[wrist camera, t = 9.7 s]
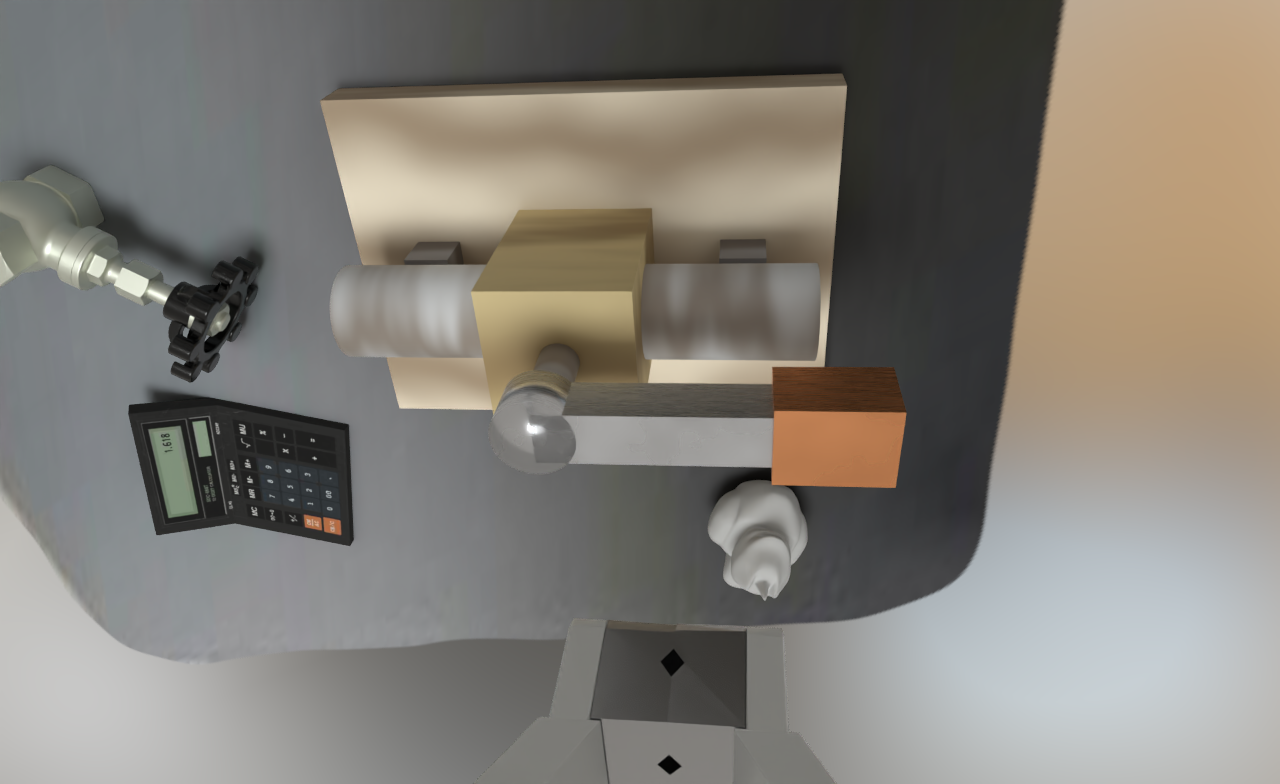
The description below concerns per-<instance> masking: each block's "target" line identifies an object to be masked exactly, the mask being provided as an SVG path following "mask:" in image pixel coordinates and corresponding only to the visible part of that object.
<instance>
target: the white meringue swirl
mask: <svg viewBox="0 0 1280 784" xmlns="http://www.w3.org/2000/svg"><path fill="white" fill-rule="evenodd" d="M708 533H709V536H710V538H711V539H712V540H713V541H714V542H715V543H717V544H719V545H720V546H721V547H722V548H723V550H724V551H725V552H726V560H725V565H724V570H723V577H724V580H725V581H726V582H727V583H728V584H729V585H731V586H733V587H736V588H743V589H745V590H747V591H749V592H751V593H754V594H758V595H761V596H762V598H763V599H764V600H766V598H767V596H771V597H773V598H776V597H777V596H778V594H779V593H780V591H781V590H782V589H783V588H784V586H785V585H786V583H787V582H788V580H789V577H790V572H791V565H792V564H793V563H795V562H796V560H797V559H798V558H799V556H800V555H801V553H802V551H803V550H804V548H805V547H806V544H807V524H806V520H805V517H804V515H803V514H802V512H801V510H800V506H799V502H798V500H797V498H796V496H795V494H794V493H793V491H792V490H791V489H789V488H788V487H786V486H783V485H772V483H771V481H766V480H752V481H746V482H743V483H741V484H739V485H738V486H737V488H736V489H734V490H732V491H730V492H728V493H726V494H725V495H723V496H722V497H721V498H720V499H719V500H718V502H717V504H716V506H715V508H714V509H713V511H712V513H711V515H710V518H709V524H708Z"/></svg>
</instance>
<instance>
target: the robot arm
mask: <svg viewBox="0 0 1280 784" xmlns="http://www.w3.org/2000/svg"><path fill="white" fill-rule="evenodd" d="M788 723H789V722H788V702H787V682H786V661H785V641H784V633H783V630H782V629H781V628H760V627H747V628H745V626H725V625H695V624H677V625H668V624H654V623H641V622H627V621H613V620H595V619H578V618H574V619H573V621H572V623H571V625H570V627H569V630H568V634H567V639H566V643H565V648H564V652H563V657H562V661H561V666H560V670H559V675H558V679H557V684H556V688H555V693H554V697H553V702H552V707H551V711H550V715H549V717H538V718H537V719H536V721H534V722H533V723H532V724H531V725H530V726H529V727H528V728H527V729H526V730H525V731H524V732H523V734H522V735H521V736H520V737H519V738H518V739H517V740H516V741H515V742H514V743H513V744H512V745H511V746H510V747H509V748H508V749H507V750H506V751H505V752H504V753H503V754H502V755H501V756H500V757H499V758H498V759H497V760H496V761H495V762H494V763H493V764H492V765H491V766H490V767H489V768H488V769H487V770H486V771H485V772H484V773H483V774H482V775H481V776H480V777H479V778H478V779H477V780H476V781H475V782H474V783H473V784H837V783H836V782H835V780H834V779H833V777H832V776H831V775H830V773H829V772H828V771H827V769H826V768H825V766H824V765H823V764H822V762H821V761H820V760H819V758H818V757H817V756H816V754H815V753H814V751H813V750H812V749H811V747H810V746H809V745H808V743H807V742H806V740H805V739H804V738H803V737H802V735H801V734H800V733H797V732H789V724H788Z"/></svg>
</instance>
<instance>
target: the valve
mask: <svg viewBox="0 0 1280 784" xmlns="http://www.w3.org/2000/svg"><path fill="white" fill-rule="evenodd" d="M103 221H104V217H103V215H102V212H101V210H100V207H99V205H98V202H97V200H96V197H95V195H94V193H93V190H92V188H91V186H90V184H89V183H87V182H86V181H83V180H81V179H79V178H77V177H75V176H73V175H71V174H69V173H67V172H65V171H63V170H61V169H59V168H57V167H55V166H52V165H49V166H47V167H45V168H43V169H41V170H39V171H36V172H34V173H32V174H30V175H28V176H27V177H26V178H25V179H24V180H22V181H20V180H11V181H3V182H0V288H1V287H2V286H4V285H6V284H7V283H9V282H10V281H12V280H14V279H15V278H16V277H18V276H19V275H20V274H22V273H28V272H36V271H40V270H44V269H47V268H52V269H54V270H56V271H57V273H58V277H59V278H60V280H62V281H63V282H65V283H68V284H70V285H72V286H74V287H76V288H78V289H80V290H89V289H92V288H93V287H95V286H96V285H100V286H102V287H104V286H106V285H108V284H110V283H113V284H114V286H115V289H116V291H117V293H118V294H119V295H121V296H123V297H125V298H127V299H129V300H132V301H134V302H136V303H138V304H140V305H142V306H145V305H147V304H149V303H150V302H151V301H152V300H153V301H155V302H157V303H159V304H162V305H164V308H163V315H164V317H165V318H167V319H169V320H171V321H172V322H171V324H170V327H169V332H168V333H169V339H170V342H171V343H170V345H169V348H168V352H169V354H171V355H174V356H176V357H178V358H180V359H182V360H184V361H186V363H185V364H184V365H182V364H180V363H178V362H174V363H173V365H172V368H171V374H173V375H175V376H177V377H179V378H181V379H184V380H186V381H188V382H193V381H194V380H195V379H196V378H197V377H198V375H199V374H200V372H201V370H203V371H205V372H207V373H209V372H211V371H212V370H213V369H214V368H215V367H216V365H217V363H218V361H219V358H220V354H219V350H220V348H221V347H222V345H223V344H224V343H225V341H226V340H227V341H230V342H233V341H234V340H235V339H236V338H237V336H238V335H239V333H240V331H241V328H242V324H241V323H240V322H238V319H239V317H240V315H241V312H242V310H243V309H244V307H245V306H246V307H248V306H250V305H251V304H252V302H253V301H254V299H255V297H256V295H257V291H258V290H257V288H256V287H254V286H252V285H250V284H251V283H252V282H253V280H254V279H255V277H256V275H257V273H258V270H259V267H258V265H257V264H255V263H253V262H250V261H248V260H246V259H244V258H242V257H237V258H236V259H235V260H234V262H233V263H232V264H230V263H228V262H226V261H224V260H223V261H220V262H219V263H218V264H217V266H216V267H215V269H214V271H213V273H212V277H214V278H216V279H218V280H220V281H221V282H220V283H219V284H218V285H203V286H200V287H195V286H193V285H191V284H189V283H187V282H181V283H179V284H178V285H177V286H176V287H175V288H174V287H172V286H169V285H167V284H165V283H163V275H162V273H161V271H159V270H157V269H155V268H153V267H151V266H149V265H147V264H145V263H143V262H141V261H139V260H136V259H134V260H132V261H131V262H129V263H128V264H127V263H125V262H123V256H122V254H121V253H120V251H118V250H117V249H118V243H117V240H116V238H115V237H114V236H113V235H111V234H108V233H106V232H104V231H102V230H100V229H98V228H96V226H98V225H99V224H100V223H102V222H103ZM226 303H227V304H226ZM185 327H186V328H189V329H190V330H189V333H188V336H187V338H186V337H184V336H183V330H184V328H185ZM206 335H209V336H210V337H209V338H208V339H207V340H206V341H205V338H206Z"/></svg>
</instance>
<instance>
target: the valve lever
mask: <svg viewBox="0 0 1280 784" xmlns="http://www.w3.org/2000/svg"><path fill="white" fill-rule="evenodd" d="M905 419H906V409H905V406H904V402H903V398H902V395H901V391H900V388H899V384H898V380H897V377H896V373H895V370H894V367H772V384H707V383H585V382H571V381H569V380H568V379H567V378H565V377H563V376H561V375H559V374H557V373H554V372H550V371H545V370H532V371H527V372H524V373H521V374H519V375H517V376H516V377H514V378H513V379H512V380H510V382H509V383H508V384H507V386H506V387H505V389H504V392H503V394H502V396H501V399H500V401H499V404H498V406H497V408H496V411H495V413H494V415H493V418H492V420H491V422H490V425H489V429H488V437H489V441H490V444H491V447H492V449H493V450H494V452H495V453H496V455H497V456H498V457H499V458H500V459H501V460H502V461H503V462H505V463H506V464H507V465H509V466H510V467H512V468H514V469H517V470H519V471H522V472H525V473H531V474H547V473H551V472H555V471H557V470H559V469H561V468H563V467H564V466H566V465H567V464H568V463H569V464H619V465H670V466H721V467H771V483H772V485H796V486H841V487H887V488H896V481H897V474H898V467H899V460H900V453H901V446H902V440H903V433H904V426H905Z"/></svg>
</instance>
